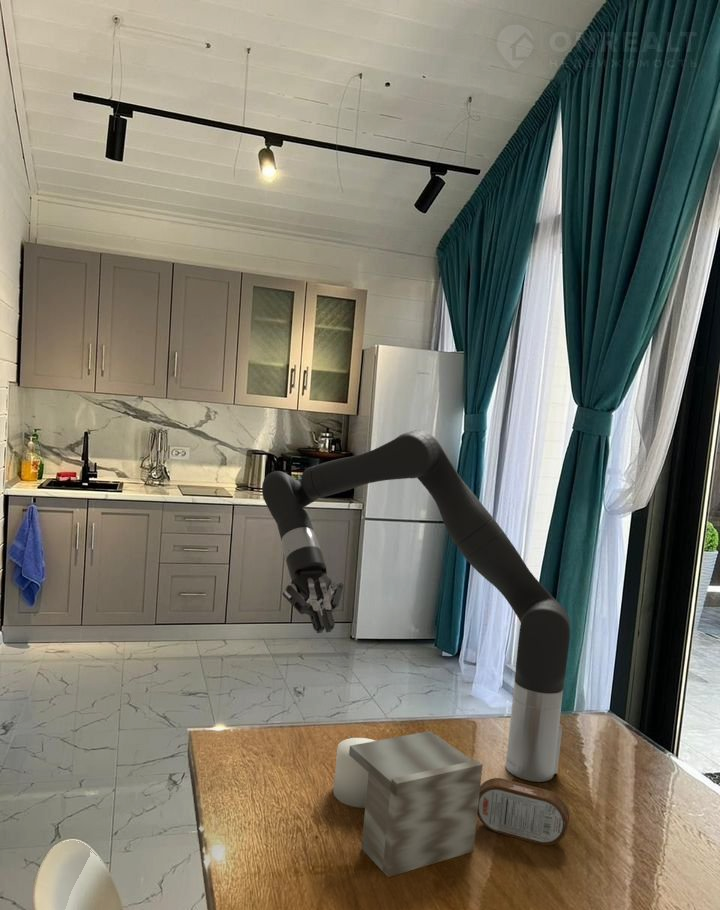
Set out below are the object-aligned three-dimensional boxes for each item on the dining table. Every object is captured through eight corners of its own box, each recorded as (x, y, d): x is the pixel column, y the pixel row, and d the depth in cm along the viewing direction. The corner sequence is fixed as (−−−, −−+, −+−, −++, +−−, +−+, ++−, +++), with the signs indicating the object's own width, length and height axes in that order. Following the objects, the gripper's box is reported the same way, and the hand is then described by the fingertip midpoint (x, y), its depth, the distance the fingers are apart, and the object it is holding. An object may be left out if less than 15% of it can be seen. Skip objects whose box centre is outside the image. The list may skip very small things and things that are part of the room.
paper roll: (367, 776, 134) (371, 734, 133) (394, 801, 126) (398, 756, 126) (324, 786, 129) (328, 742, 129) (349, 812, 122) (354, 765, 121)
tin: (566, 843, 118) (572, 793, 118) (565, 854, 115) (571, 802, 115) (474, 819, 123) (479, 770, 123) (471, 828, 120) (476, 779, 120)
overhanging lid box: (422, 807, 125) (430, 728, 124) (473, 851, 114) (482, 764, 113) (341, 827, 117) (350, 742, 116) (387, 877, 105) (397, 783, 104)
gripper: (279, 545, 145) (301, 624, 135) (339, 544, 152) (364, 619, 142) (266, 565, 149) (286, 642, 140) (324, 563, 156) (348, 637, 147)
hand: (325, 630), depth 141 cm, fingers closed
